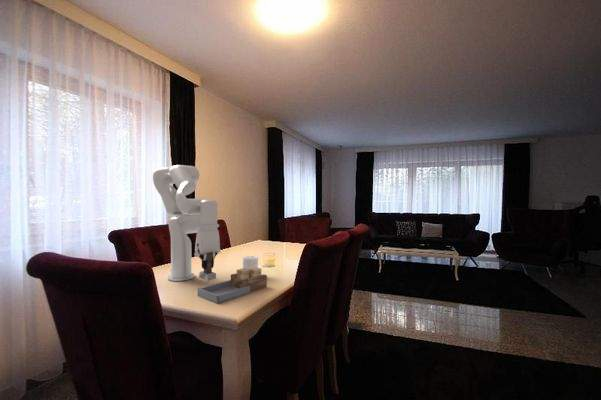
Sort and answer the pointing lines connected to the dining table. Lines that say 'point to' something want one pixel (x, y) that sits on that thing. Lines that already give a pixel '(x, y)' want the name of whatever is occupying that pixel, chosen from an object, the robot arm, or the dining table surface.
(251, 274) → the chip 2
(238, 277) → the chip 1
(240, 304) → the dining table surface
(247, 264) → the white cup
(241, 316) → the dining table surface
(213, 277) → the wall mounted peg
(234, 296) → the tray
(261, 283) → the slot block
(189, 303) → the dining table surface
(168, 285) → the dining table surface
